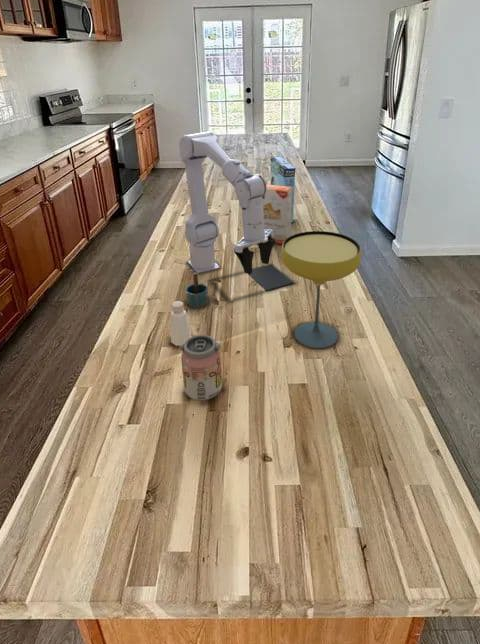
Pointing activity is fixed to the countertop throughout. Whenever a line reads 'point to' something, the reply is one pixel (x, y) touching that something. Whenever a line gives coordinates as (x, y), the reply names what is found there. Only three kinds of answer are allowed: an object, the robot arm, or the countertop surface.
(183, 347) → the beverage can
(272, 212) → the cracker box
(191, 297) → the espresso cup
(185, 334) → the pepper shaker
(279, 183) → the blue upright flat box
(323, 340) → the cocktail glass
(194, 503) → the countertop surface
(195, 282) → the stirring stick
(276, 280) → the mat
